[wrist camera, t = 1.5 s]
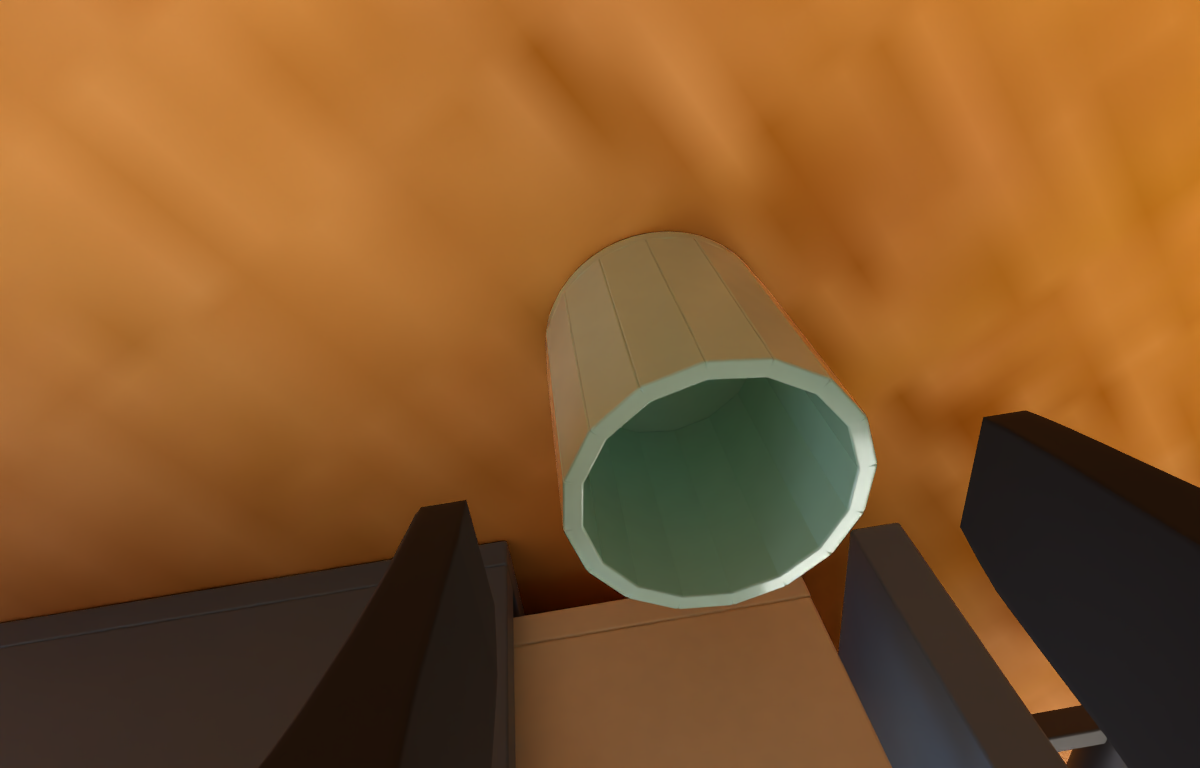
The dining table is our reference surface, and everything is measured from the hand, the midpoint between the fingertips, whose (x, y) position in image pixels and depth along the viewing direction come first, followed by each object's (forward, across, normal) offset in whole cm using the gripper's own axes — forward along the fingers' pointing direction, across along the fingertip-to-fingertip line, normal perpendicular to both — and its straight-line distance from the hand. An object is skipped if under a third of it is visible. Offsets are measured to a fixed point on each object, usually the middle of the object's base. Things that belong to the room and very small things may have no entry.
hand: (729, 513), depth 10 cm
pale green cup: (+5, 0, 0) cm, 5 cm away
